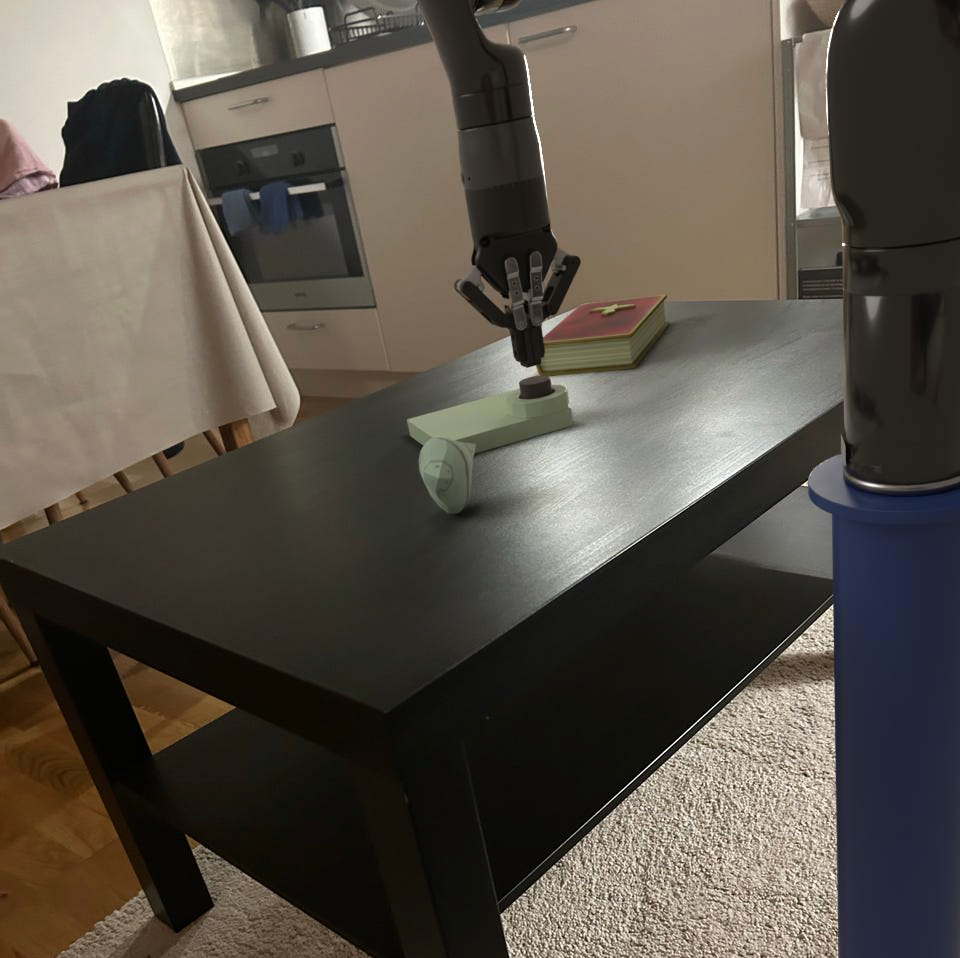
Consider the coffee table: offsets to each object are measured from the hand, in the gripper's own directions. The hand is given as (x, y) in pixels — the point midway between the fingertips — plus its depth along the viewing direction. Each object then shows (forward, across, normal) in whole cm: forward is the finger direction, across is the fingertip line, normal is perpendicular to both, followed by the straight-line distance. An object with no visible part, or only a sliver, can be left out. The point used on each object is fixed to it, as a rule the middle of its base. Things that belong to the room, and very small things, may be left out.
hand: (531, 364), depth 101 cm
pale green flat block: (+6, -4, +3) cm, 8 cm away
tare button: (+3, 0, 0) cm, 3 cm away
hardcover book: (+7, +20, +23) cm, 31 cm away
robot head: (+7, -15, -16) cm, 24 cm away
